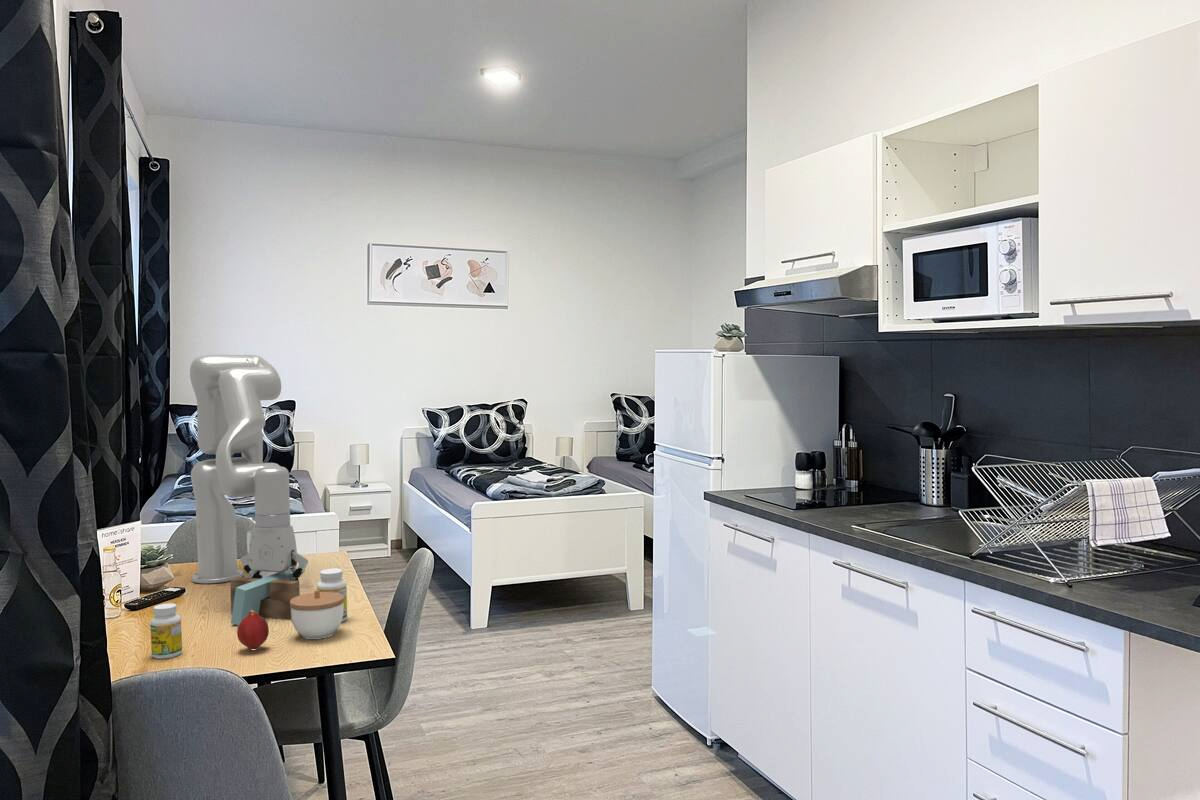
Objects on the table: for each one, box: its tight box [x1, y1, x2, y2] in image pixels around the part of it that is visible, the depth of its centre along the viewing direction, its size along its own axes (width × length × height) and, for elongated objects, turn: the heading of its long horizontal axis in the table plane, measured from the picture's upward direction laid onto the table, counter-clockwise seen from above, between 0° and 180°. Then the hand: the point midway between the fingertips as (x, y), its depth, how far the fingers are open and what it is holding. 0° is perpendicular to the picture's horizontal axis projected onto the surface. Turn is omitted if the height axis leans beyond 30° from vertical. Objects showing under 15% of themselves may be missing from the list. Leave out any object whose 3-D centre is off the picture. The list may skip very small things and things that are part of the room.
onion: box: [236, 610, 270, 650], centre depth 173 cm, size 6×6×8 cm
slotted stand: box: [229, 576, 301, 620], centre depth 197 cm, size 16×2×8 cm, turn 75°
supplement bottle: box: [149, 603, 183, 660], centre depth 171 cm, size 5×5×10 cm
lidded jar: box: [290, 589, 344, 640], centre depth 182 cm, size 11×11×9 cm
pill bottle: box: [316, 568, 348, 623], centre depth 193 cm, size 6×6×11 cm
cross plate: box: [230, 572, 290, 626], centre depth 197 cm, size 16×2×8 cm, turn 163°
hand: (275, 594), depth 203 cm, fingers open, 9 cm apart
